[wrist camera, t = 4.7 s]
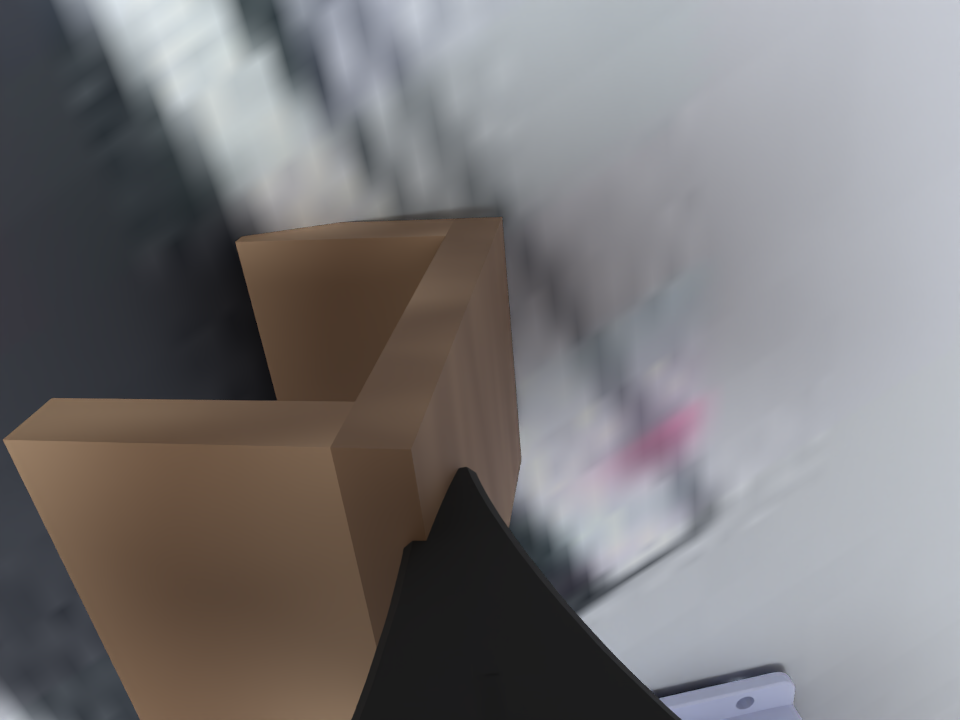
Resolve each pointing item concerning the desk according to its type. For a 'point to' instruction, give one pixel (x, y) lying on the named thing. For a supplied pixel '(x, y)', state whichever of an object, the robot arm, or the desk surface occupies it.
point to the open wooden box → (287, 472)
